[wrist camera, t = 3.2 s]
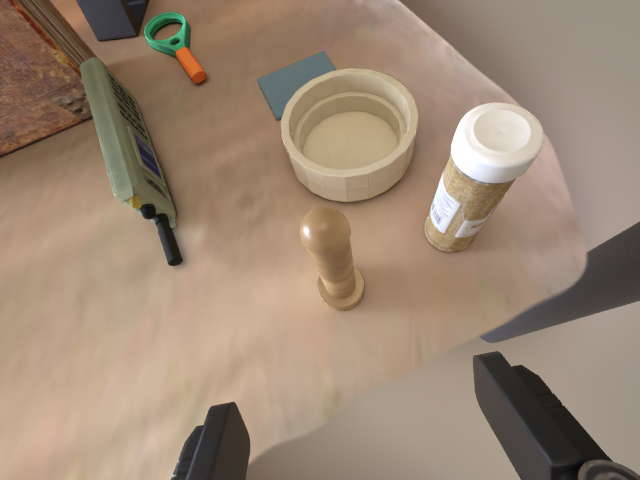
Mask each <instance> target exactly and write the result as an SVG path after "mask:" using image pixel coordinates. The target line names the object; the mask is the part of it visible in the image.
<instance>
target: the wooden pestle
mask: <svg viewBox="0 0 640 480" xmlns="http://www.w3.org/2000/svg"><path fill="white" fill-rule="evenodd" d="M350 235H351V229H350V224H349V221H348V219H347V218H346V216H345V215H344V214H343V213H342V212H341V211H339V210H338V209H336V208H333V207H329V206H322V207H317V208H315V209H313V210H311V211H310V212H309V213H308V214H307V215H306V216H305V217H304V219H303V221H302V223H301V227H300V236H301V240H302V243H303V244H304V246H305V247H306V249H307V250H308V251H309V253H310V256H311V258H312V260H313V262H314V264H315V267H316V269H317V271H318V273H319V278H318V281H317V289H318V292H319V295H320V297H321V298H322V300H323V302H324V303H325V304H326V305H327V306H328V307H330V308H332V309H334V310H339V311H344V310H349V309H351V308H353V307H355V306H356V305H357V304H358V303H359V302H360V300H361V299H362V297H363V293H364V280H363V277H362V274H361V273H360V271H359V270H358V269H357V268H356V267H355V266H353V259H352V251H351V243H350Z"/></svg>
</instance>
